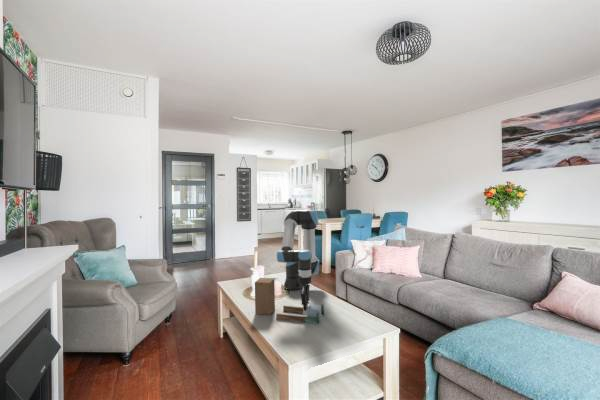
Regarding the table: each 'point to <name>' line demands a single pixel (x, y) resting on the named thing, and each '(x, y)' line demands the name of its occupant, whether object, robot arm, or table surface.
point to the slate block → (314, 310)
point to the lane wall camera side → (298, 318)
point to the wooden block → (264, 296)
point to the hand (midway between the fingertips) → (305, 314)
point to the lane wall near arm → (299, 309)
